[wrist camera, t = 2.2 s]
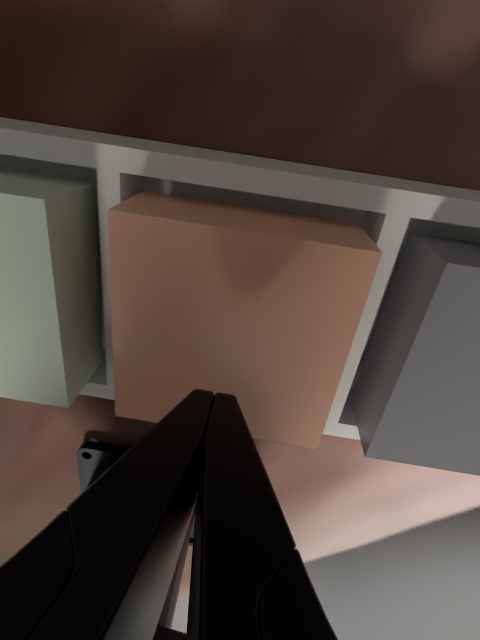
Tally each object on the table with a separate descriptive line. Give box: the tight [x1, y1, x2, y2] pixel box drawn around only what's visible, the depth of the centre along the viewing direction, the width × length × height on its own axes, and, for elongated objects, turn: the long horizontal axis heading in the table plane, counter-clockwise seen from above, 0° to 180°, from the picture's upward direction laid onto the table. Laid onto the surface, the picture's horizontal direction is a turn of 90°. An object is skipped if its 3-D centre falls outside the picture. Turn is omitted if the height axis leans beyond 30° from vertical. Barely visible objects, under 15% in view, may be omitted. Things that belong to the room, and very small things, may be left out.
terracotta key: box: [108, 191, 382, 449], centre depth 11 cm, size 6×6×2 cm
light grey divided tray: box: [0, 117, 480, 440], centre depth 12 cm, size 8×23×3 cm, turn 82°
